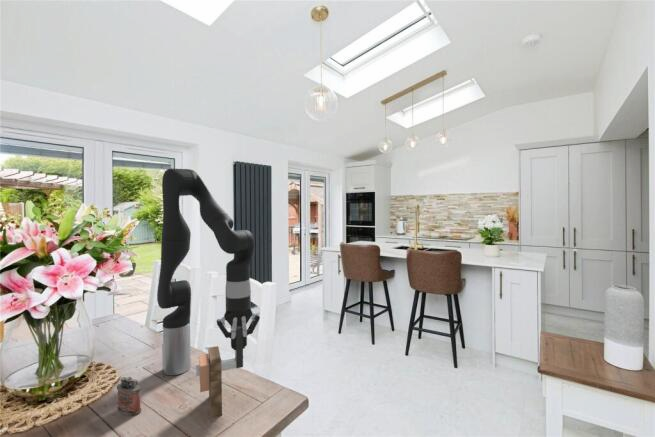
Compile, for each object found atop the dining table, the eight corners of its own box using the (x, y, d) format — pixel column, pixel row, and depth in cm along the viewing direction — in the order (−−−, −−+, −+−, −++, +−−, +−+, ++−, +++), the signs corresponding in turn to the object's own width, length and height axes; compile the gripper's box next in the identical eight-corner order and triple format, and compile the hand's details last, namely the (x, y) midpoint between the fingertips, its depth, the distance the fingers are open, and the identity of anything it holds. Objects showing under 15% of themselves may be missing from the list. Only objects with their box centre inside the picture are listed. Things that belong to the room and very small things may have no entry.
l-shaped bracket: (196, 376, 92) (195, 336, 91) (196, 372, 95) (195, 332, 94) (243, 367, 97) (242, 329, 97) (241, 362, 100) (241, 325, 100)
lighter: (114, 411, 93) (113, 378, 93) (125, 404, 96) (124, 373, 96) (133, 417, 90) (133, 383, 90) (144, 410, 93) (143, 377, 93)
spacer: (200, 392, 90) (199, 366, 90) (199, 379, 97) (199, 355, 97) (209, 390, 91) (209, 364, 91) (208, 377, 98) (207, 353, 98)
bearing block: (211, 417, 90) (210, 363, 89) (209, 396, 100) (208, 347, 100) (222, 415, 91) (221, 361, 91) (218, 394, 101) (218, 346, 101)
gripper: (258, 288, 104) (258, 340, 104) (213, 293, 98) (214, 347, 99) (262, 294, 97) (263, 349, 97) (215, 299, 91) (216, 358, 92)
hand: (238, 348), depth 98 cm, fingers closed on l-shaped bracket, 2 cm apart
